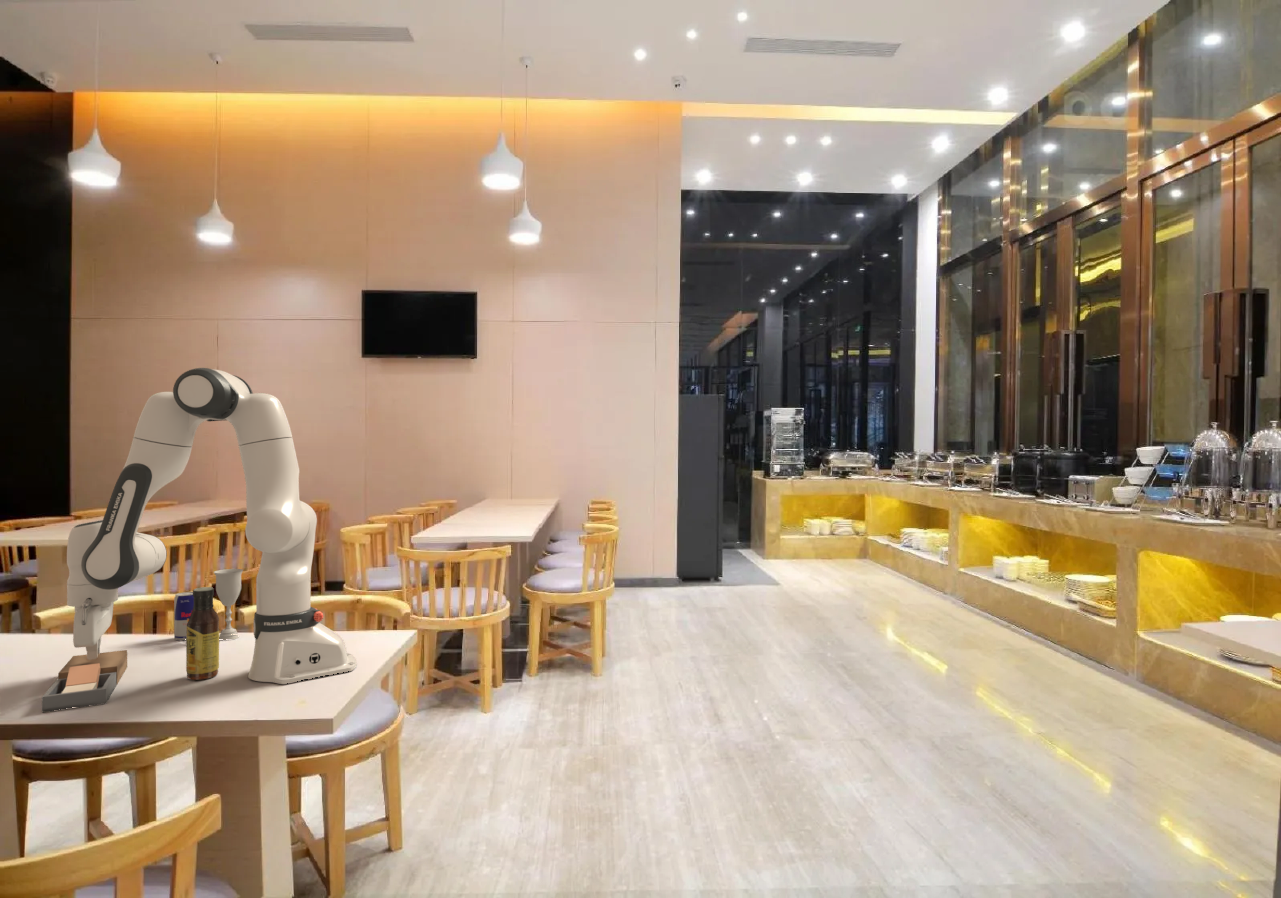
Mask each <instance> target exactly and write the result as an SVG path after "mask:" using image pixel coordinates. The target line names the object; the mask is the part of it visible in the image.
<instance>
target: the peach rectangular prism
mask: <svg viewBox="0 0 1281 898" xmlns="http://www.w3.org/2000/svg"><path fill="white" fill-rule="evenodd" d="M100 670H101V669H100V663H98V664H90V665H82V666H74V667H70V668H69V673H68V677H67V682H66V686H73V685H80V684H88V683H95V682H97V687H98V681H99V676H100Z"/></svg>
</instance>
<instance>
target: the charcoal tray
mask: <svg viewBox="0 0 1281 898" xmlns="http://www.w3.org/2000/svg"><path fill="white" fill-rule="evenodd" d="M66 682H67V678H64V679H58V678H57V679H56V680H55V682H53V684H52V685H51V686H50V687H49V688H48V689H47V691H46V692H45V693H44V694H43V695H42V697H41V712H42V711H50V712H55V711H54V710H58V711H62V710H61V709H65V710H67V709H66V708H72V707H79V708H85V707H84V706H86V707H90V706H89V705H93V706H98V705H97V704H101V705H106V704H107V703H108V701H109V699H110V698H111V697H112V694H113V692H114V691H115V689H116V687H117V685H116V672H113V673H105V674H100V676H99V681H98V687H97V689H92V690H84V691H77V692H69V693H62V692H63V690H64V689H65V687H66ZM105 703H106V704H105ZM59 709H60V710H59ZM72 709H73V708H72Z"/></svg>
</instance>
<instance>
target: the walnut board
mask: <svg viewBox="0 0 1281 898" xmlns="http://www.w3.org/2000/svg"><path fill="white" fill-rule="evenodd" d="M98 663H100V669H101V670H100V674H105V673H113V672H116V686H117V685H118V684H119V682H120V680H122V678H123V676H124V673H125V672H126V670H127V668H128V649H124V650H122V649H121V650H115V651H105V652H100V654H99V656H98V657H97V658H96V659H92V660H88V659H87V653H86V654H79V655H73V656H71V658H70V659H69V660H68V662H67V663H65V665H64V666H63V667H62V668H61V669H60V671H58V673H57V674H58V675H57V676H58V678H57V679H64V678H67V677H68V673H69V668H70V667H74V666H82V665H90V664H98Z"/></svg>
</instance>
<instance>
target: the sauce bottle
mask: <svg viewBox="0 0 1281 898" xmlns="http://www.w3.org/2000/svg"><path fill="white" fill-rule="evenodd" d="M192 592H193V597H194V606H193V610H192V613H191V616H190V618H189V621H188V623H187V639H186V640H185V641H186V645H185V646H186V647H185V648H186V649H185V651H186V655H185V656H186V657H185V658H186V659H185V660H186V661H185V665H186V666H185V669H186V670H185V671H186V677H187V679H188V680H192V681H203V680H208V679H212V678H215V677H216V676H217V675H219V667H220V640H219V636H220V627H219V626H220V625H219V624H220V623H219V622H220V618H219V615H218V613H217V611H215V609H214V596H215V588H213V587H212V586H204V587H197V588H194V589H193V590H192Z"/></svg>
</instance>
